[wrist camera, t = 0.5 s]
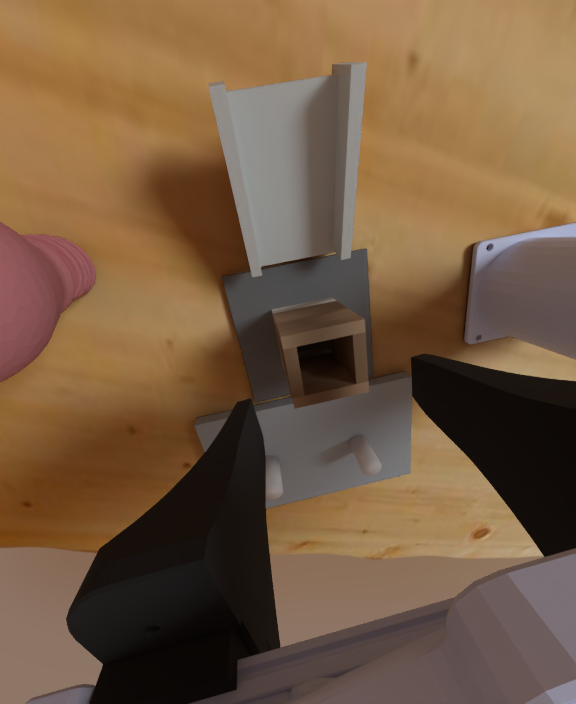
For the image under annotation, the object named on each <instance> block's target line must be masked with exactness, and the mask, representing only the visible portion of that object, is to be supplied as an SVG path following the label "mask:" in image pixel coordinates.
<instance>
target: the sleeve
mask: <svg viewBox="0 0 576 704" xmlns="http://www.w3.org/2000/svg"><path fill="white" fill-rule="evenodd" d="M272 314H273V319H274V324H275V329H276V334H277V339H278V344H279V349H280V354H281V359H282V364H283V368H284V371H285V375H286V379H287V382H288V386H289V390H290V393H291V397H292V401H293V404H294V408H295V409H296V408H300V407H305V406H309V405H314V404H318V403H322V402H327V401H331V400H336V399H340V398H345V397H349V396H353V395H358V394H362V393H367V392H369V382H368V365H367V348H366V332H365V319H364V318H362V317H361V316H359V315H358V314H356V313H355V312H353V311H352V310H350V309H348V308H347V307H345V306H344V305H342V304H341V303H339V302H338V301H336V300H335V299H333V298H332V297H331V298H326V299H321V300H316V301H311V302H306V303H301V304H296V305H291V306H287V307H282V308H277V309H272ZM326 340H327V343H328V346H327V347H322V348H318V349H313V350H308V351H304V352H299V353H297V348H296V347H298V346H303V345H307V344H312V343H317V342H321V341H326Z"/></svg>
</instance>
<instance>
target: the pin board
mask: <svg viewBox="0 0 576 704" xmlns="http://www.w3.org/2000/svg"><path fill="white" fill-rule="evenodd" d="M368 382H369V392H367V393H362V394H358V395H353V396H349V397H345V398H340V399H336V400H331V401H327V402H322V403H318V404H314V405H309V406H305V407H300V408H296V409H295V408H294V404H293V401H292V397H288V398H284V399H279V400H275V401H271V402H266V403H262V404H257V405H253V406H254V409H255V412H256V415H257V418H258V421H259V424H260V427H261V430H262V434H263V438H264V446H265V455H266V509H267V508H271V507H275V506H279V505H284V504H288V503H292V502H296V501H300V500H304V499H308V498H312V497H316V496H320V495H324V494H328V493H332V492H336V491H340V490H345V489H349V488H353V487H357V486H361V485H365V484H369V483H373V482H377V481H381V480H385V479H389V478H393V477H397V476H401V475H406V474H410V463H411V394H412V377H411V376H410V375H409V374H408V373H407V372H400V373H396V374H391V375H387V376H382V377H378V378H373V379H369V380H368ZM231 412H232V410H230V411H226V412H221V413H217V414H212V415H208V416H203V417H199V418H196V421H195V424H194V427H195V429H196V432H197V435H198V437H199V440H200V442H201V445H202V447H203V450H204V452H206V450H207V449H208V448H209V446H210V445H211V443H212V442H213V441H214V439H215V438H216V436H217V435H218V433H219V432H220V430H221V428H222V427H223V425H224V424H225V422H226V420H227V419H228V417H229V415H230V413H231Z"/></svg>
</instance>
